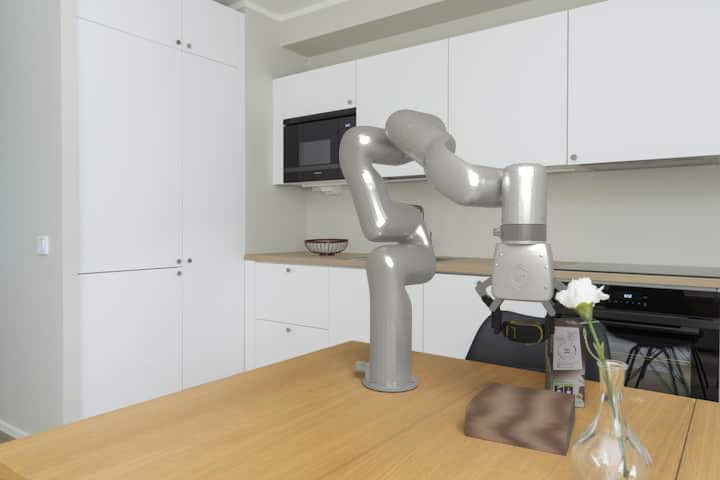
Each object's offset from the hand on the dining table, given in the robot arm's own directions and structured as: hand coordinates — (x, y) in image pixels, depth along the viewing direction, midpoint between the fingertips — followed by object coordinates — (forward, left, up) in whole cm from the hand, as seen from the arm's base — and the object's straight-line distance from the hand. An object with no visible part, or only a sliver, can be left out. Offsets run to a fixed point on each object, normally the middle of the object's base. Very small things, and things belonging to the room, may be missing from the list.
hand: (522, 334), depth 88 cm
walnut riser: (0, +1, -17) cm, 17 cm away
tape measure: (0, +1, -2) cm, 2 cm away
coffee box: (+5, +21, -17) cm, 28 cm away
